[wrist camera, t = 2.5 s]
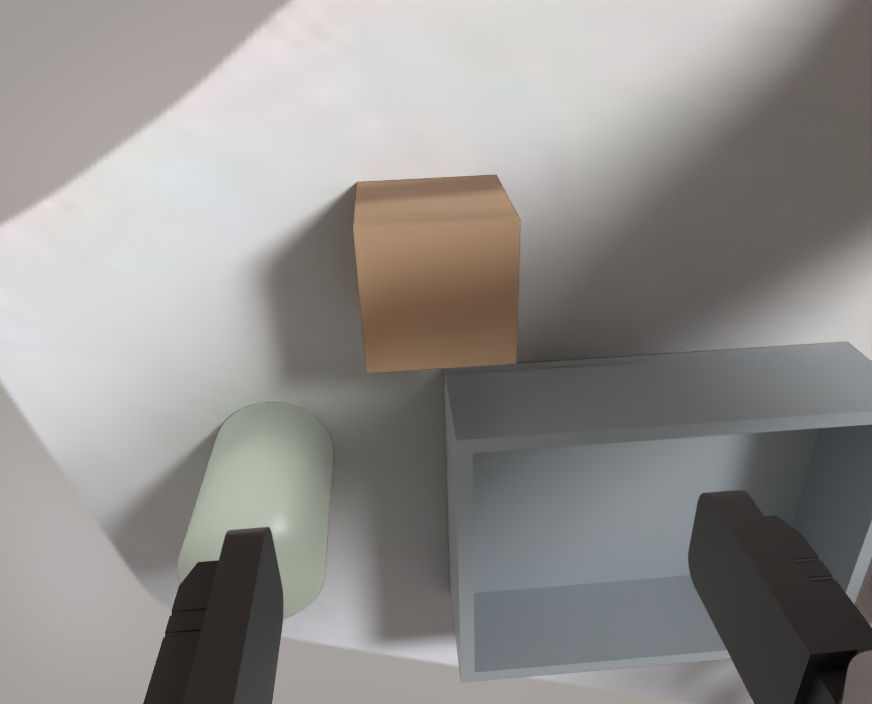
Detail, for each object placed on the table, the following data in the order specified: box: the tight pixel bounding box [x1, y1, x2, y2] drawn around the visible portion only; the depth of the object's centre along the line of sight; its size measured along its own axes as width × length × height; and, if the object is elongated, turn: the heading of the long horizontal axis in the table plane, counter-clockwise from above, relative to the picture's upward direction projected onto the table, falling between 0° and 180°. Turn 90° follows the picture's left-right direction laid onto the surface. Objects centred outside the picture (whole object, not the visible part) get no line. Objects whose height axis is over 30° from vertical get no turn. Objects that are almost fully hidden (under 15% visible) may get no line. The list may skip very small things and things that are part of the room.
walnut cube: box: [353, 175, 521, 373], centre depth 25 cm, size 5×5×5 cm
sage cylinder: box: [177, 402, 334, 619], centre depth 28 cm, size 5×5×7 cm
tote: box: [444, 342, 872, 683], centre depth 31 cm, size 13×17×5 cm
